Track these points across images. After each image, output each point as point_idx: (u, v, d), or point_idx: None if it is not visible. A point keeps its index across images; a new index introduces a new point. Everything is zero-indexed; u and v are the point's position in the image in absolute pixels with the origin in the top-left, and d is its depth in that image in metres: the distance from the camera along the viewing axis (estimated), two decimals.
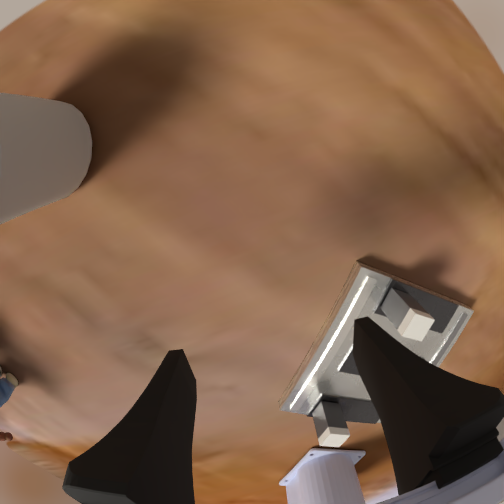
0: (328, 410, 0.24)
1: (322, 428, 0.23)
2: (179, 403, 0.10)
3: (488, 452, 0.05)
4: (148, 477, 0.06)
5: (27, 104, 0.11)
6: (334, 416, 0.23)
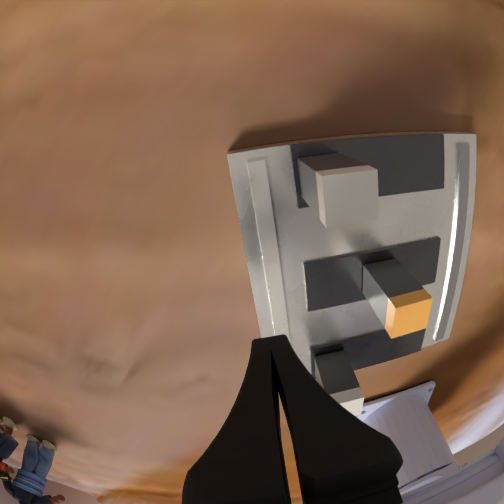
0: (326, 367, 0.17)
1: None
2: (275, 392, 0.10)
3: (382, 502, 0.05)
4: (283, 470, 0.06)
5: None
6: (336, 374, 0.17)
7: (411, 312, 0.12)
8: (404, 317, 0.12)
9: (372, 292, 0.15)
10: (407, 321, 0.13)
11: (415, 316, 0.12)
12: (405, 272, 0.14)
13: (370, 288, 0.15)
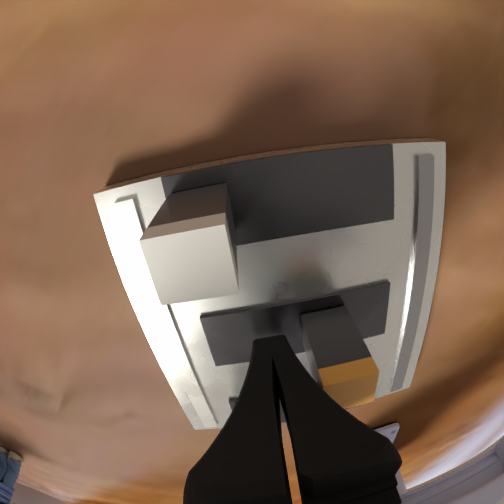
0: None
1: None
2: (276, 392, 0.10)
3: (380, 502, 0.05)
4: (284, 470, 0.06)
5: None
6: None
7: (348, 388, 0.10)
8: (338, 394, 0.10)
9: (308, 351, 0.12)
10: (343, 397, 0.10)
11: (355, 392, 0.10)
12: (352, 328, 0.12)
13: (307, 345, 0.12)
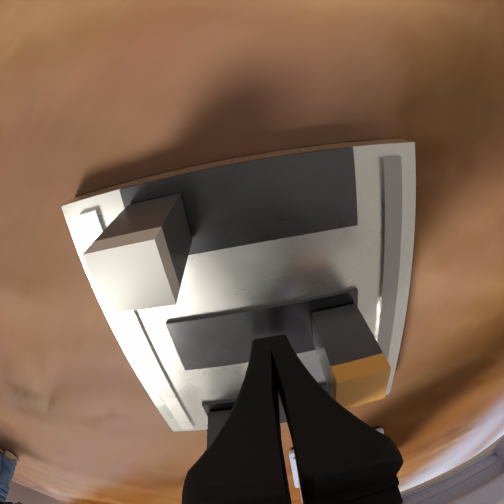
0: (216, 427, 0.15)
1: None
2: (275, 392, 0.10)
3: (381, 502, 0.05)
4: (283, 470, 0.06)
5: None
6: None
7: (361, 385, 0.10)
8: (351, 390, 0.10)
9: (319, 349, 0.12)
10: (356, 394, 0.10)
11: (367, 388, 0.10)
12: (362, 325, 0.12)
13: (318, 343, 0.12)
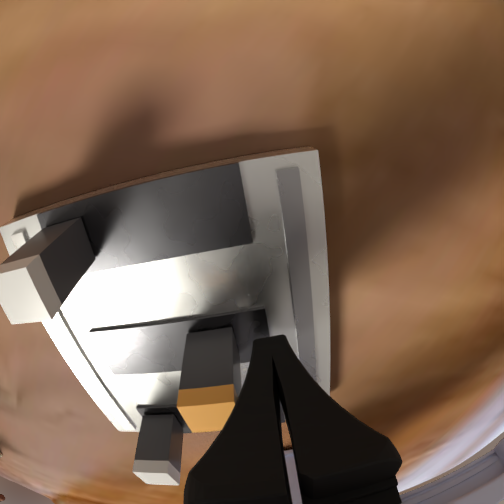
0: (147, 430, 0.15)
1: None
2: (276, 392, 0.10)
3: (380, 502, 0.05)
4: (284, 470, 0.06)
5: None
6: (153, 440, 0.14)
7: (206, 412, 0.10)
8: (197, 416, 0.10)
9: None
10: (205, 420, 0.10)
11: (215, 417, 0.10)
12: (227, 351, 0.12)
13: None
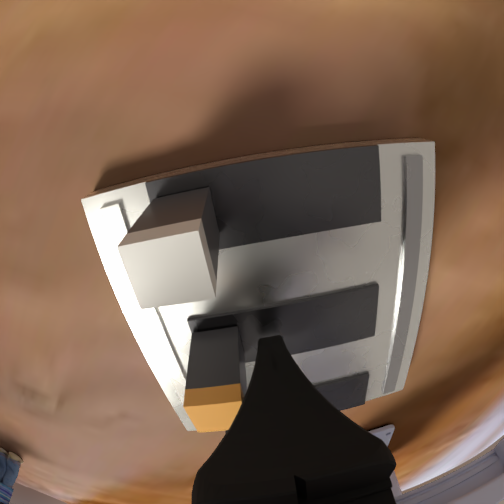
0: None
1: None
2: None
3: None
4: None
5: None
6: None
7: (212, 412, 0.10)
8: (204, 416, 0.10)
9: None
10: (212, 420, 0.10)
11: (222, 416, 0.10)
12: (233, 351, 0.12)
13: None
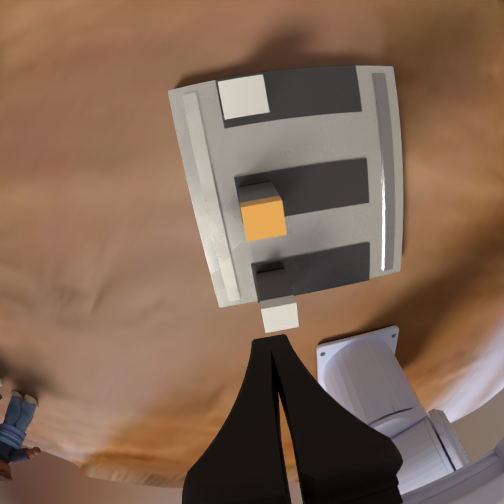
0: (264, 281, 0.20)
1: None
2: (275, 392, 0.10)
3: (382, 502, 0.05)
4: (283, 470, 0.06)
5: None
6: (273, 285, 0.19)
7: (261, 214, 0.15)
8: (254, 218, 0.15)
9: None
10: (259, 223, 0.15)
11: (267, 219, 0.15)
12: (271, 188, 0.17)
13: None
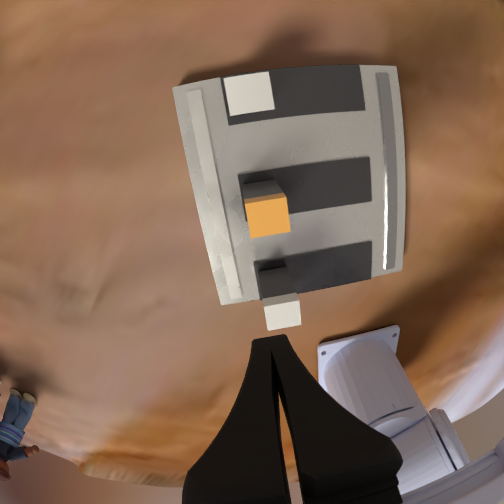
0: (267, 279, 0.20)
1: None
2: (275, 392, 0.10)
3: (381, 502, 0.05)
4: (283, 470, 0.06)
5: None
6: (275, 283, 0.19)
7: (265, 210, 0.15)
8: (258, 215, 0.15)
9: None
10: (263, 220, 0.15)
11: (271, 215, 0.15)
12: (274, 185, 0.17)
13: None
